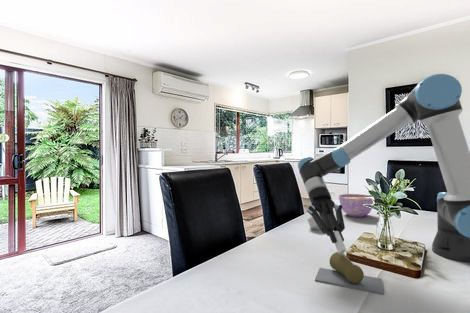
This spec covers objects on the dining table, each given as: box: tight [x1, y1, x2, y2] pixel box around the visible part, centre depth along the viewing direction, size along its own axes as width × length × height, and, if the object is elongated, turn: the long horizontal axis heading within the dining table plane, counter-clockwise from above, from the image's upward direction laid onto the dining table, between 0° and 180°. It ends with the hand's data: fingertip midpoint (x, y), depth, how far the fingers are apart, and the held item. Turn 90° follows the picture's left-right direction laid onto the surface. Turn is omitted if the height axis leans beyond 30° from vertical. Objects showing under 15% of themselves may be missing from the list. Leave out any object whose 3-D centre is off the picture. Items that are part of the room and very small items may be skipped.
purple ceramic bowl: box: [338, 193, 374, 218], centre depth 158 cm, size 20×20×12 cm
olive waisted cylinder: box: [329, 251, 365, 284], centre depth 80 cm, size 6×6×11 cm
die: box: [307, 212, 322, 231], centre depth 132 cm, size 8×9×10 cm
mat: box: [314, 267, 384, 296], centre depth 78 cm, size 18×9×1 cm, turn 63°
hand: (342, 251), depth 82 cm, fingers closed
